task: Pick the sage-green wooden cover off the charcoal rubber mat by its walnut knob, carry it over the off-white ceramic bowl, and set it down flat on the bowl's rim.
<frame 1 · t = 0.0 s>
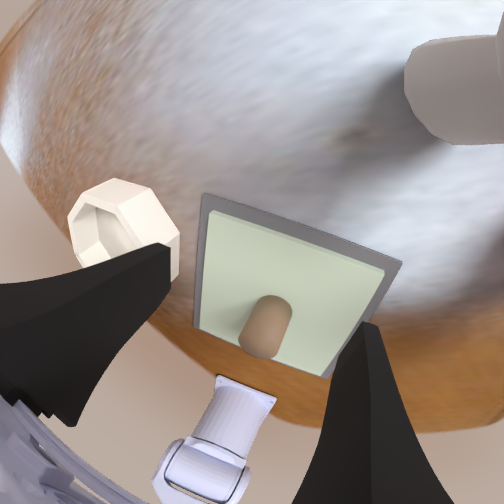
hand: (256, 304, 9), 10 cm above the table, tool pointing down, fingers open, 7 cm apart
mat: (277, 302, 23), on the table
cover: (276, 305, 22), resting on mat
salt shaker: (440, 93, 11), on the table
bowl: (133, 235, 25), on the table
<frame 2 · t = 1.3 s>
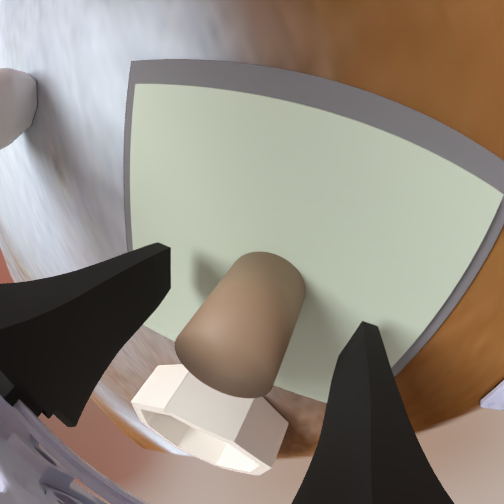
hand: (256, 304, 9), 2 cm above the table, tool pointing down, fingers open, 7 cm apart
mat: (273, 273, 11), on the table
cover: (271, 277, 11), resting on mat
salt shaker: (29, 100, 12), on the table
bowl: (218, 407, 20), on the table
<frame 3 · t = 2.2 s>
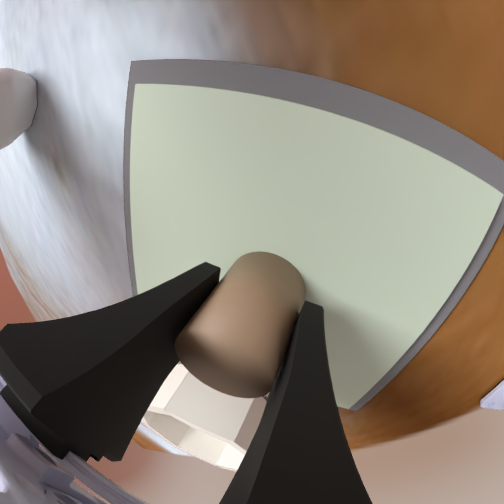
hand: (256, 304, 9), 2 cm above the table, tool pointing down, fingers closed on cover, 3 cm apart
mat: (273, 273, 11), on the table
cover: (271, 277, 11), resting on mat, touching gripper
salt shaker: (29, 100, 12), on the table
bowl: (218, 407, 20), on the table
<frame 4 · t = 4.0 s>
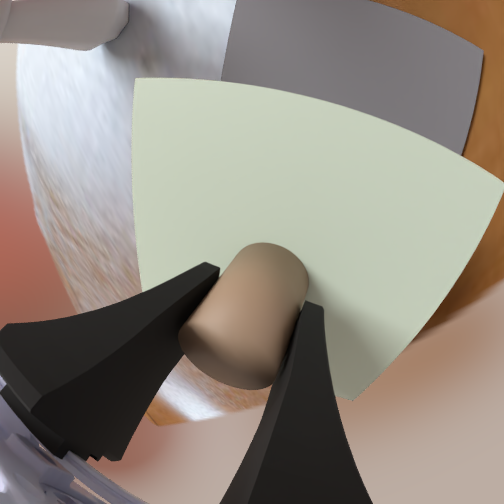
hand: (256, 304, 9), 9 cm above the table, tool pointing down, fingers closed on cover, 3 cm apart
mat: (342, 110, 13), on the table
cover: (274, 268, 11), point 8 cm above the table, touching gripper
salt shaker: (114, 21, 14), on the table
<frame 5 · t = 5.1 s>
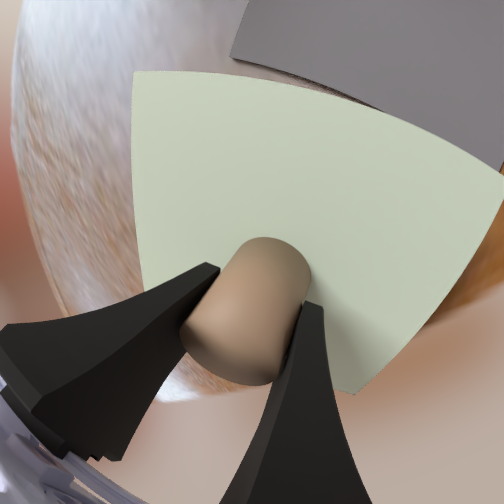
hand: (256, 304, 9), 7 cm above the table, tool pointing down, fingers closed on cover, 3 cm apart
cover: (276, 262, 11), point 5 cm above the table, touching gripper
when the fingers open (7 cm above the table, at t = 5.8 s): cover stays where it is, resting on bowl.
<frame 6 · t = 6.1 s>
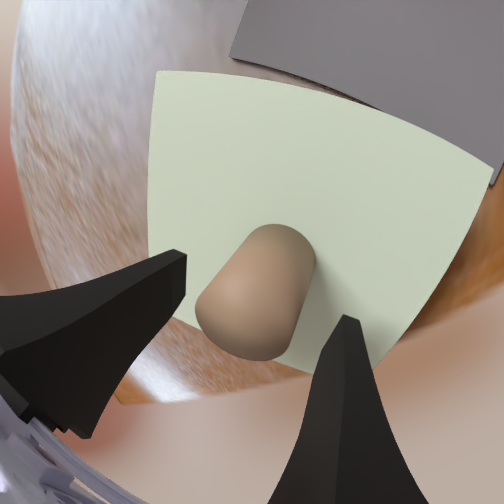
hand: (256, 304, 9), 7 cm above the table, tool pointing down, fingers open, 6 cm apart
cover: (282, 251, 11), point 4 cm above the table, touching bowl
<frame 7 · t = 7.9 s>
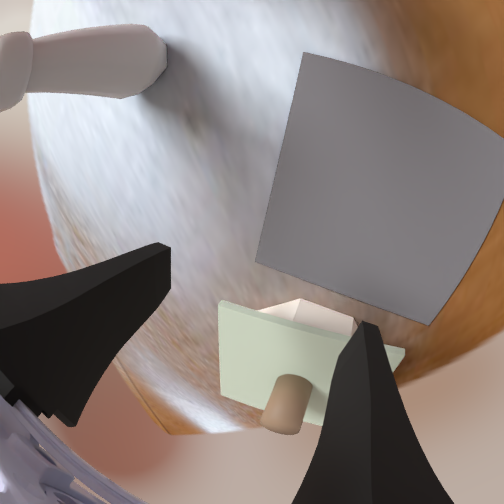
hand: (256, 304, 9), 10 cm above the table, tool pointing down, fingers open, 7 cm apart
mat: (390, 204, 15), on the table
cover: (296, 379, 20), point 4 cm above the table, touching bowl
salt shaker: (149, 61, 16), on the table
bowl: (305, 348, 24), on the table
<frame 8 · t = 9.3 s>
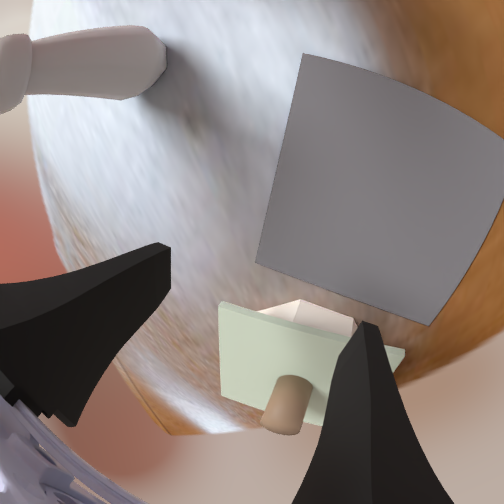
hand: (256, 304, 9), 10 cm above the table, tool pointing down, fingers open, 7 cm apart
mat: (390, 205, 15), on the table
cover: (296, 379, 20), point 4 cm above the table, touching bowl
salt shaker: (148, 63, 16), on the table
bowl: (305, 348, 24), on the table
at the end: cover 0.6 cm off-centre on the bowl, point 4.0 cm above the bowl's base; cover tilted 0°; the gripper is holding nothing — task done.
